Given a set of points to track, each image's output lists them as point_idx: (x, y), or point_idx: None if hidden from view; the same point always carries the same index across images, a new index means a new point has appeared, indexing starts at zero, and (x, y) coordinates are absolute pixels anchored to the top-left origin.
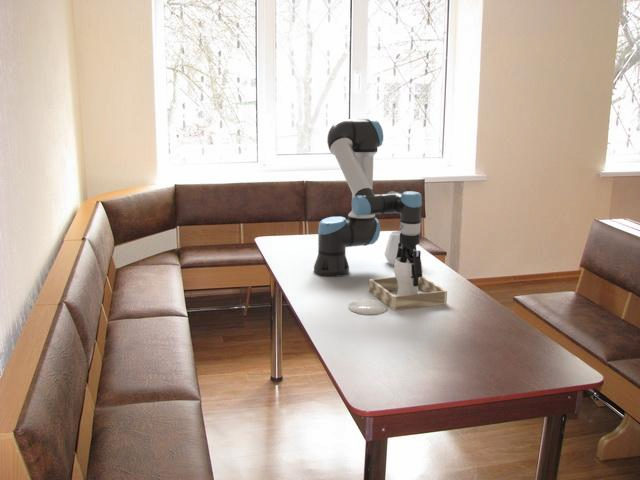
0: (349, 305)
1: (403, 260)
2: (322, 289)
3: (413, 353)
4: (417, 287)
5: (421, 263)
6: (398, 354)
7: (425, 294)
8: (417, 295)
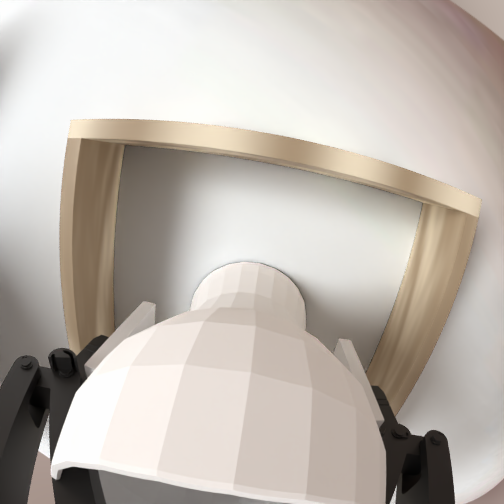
0: None
1: (96, 478)
2: None
3: (498, 447)
4: (359, 367)
5: (362, 471)
6: (481, 464)
7: (429, 349)
8: (407, 390)
